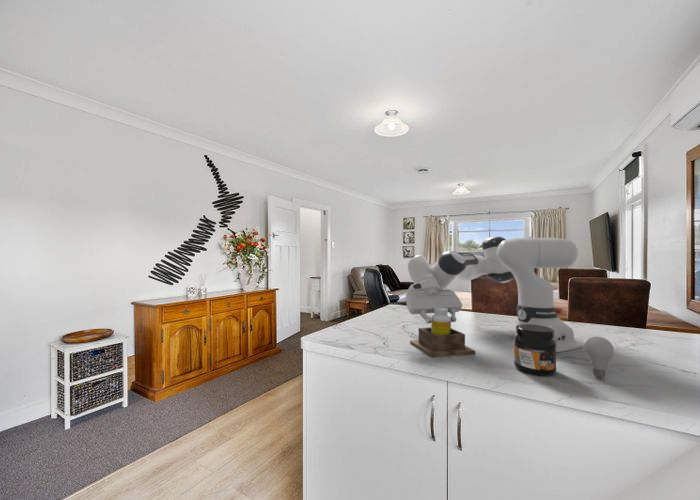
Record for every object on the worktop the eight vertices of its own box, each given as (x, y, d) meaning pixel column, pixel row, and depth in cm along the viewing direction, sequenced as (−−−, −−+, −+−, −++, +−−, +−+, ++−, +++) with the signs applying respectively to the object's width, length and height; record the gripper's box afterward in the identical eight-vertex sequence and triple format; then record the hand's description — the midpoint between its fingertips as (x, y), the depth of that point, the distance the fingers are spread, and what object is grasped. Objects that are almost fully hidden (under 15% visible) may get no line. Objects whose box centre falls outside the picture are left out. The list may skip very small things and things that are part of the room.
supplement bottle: (452, 348, 105) (452, 310, 105) (431, 347, 106) (431, 309, 106) (449, 343, 111) (449, 307, 112) (430, 342, 113) (430, 306, 113)
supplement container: (521, 375, 85) (521, 331, 85) (508, 362, 95) (508, 323, 95) (564, 378, 83) (564, 333, 83) (546, 364, 93) (546, 324, 93)
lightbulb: (579, 373, 86) (579, 334, 86) (599, 373, 86) (599, 333, 87) (598, 383, 80) (598, 340, 80) (620, 382, 80) (620, 340, 80)
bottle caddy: (448, 340, 118) (448, 324, 118) (475, 353, 103) (475, 335, 103) (410, 343, 114) (410, 326, 115) (431, 357, 99) (431, 338, 99)
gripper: (449, 294, 122) (464, 325, 113) (401, 296, 117) (412, 328, 108) (456, 284, 118) (472, 315, 108) (406, 285, 113) (418, 318, 104)
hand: (441, 321), depth 108 cm, fingers open, 8 cm apart
